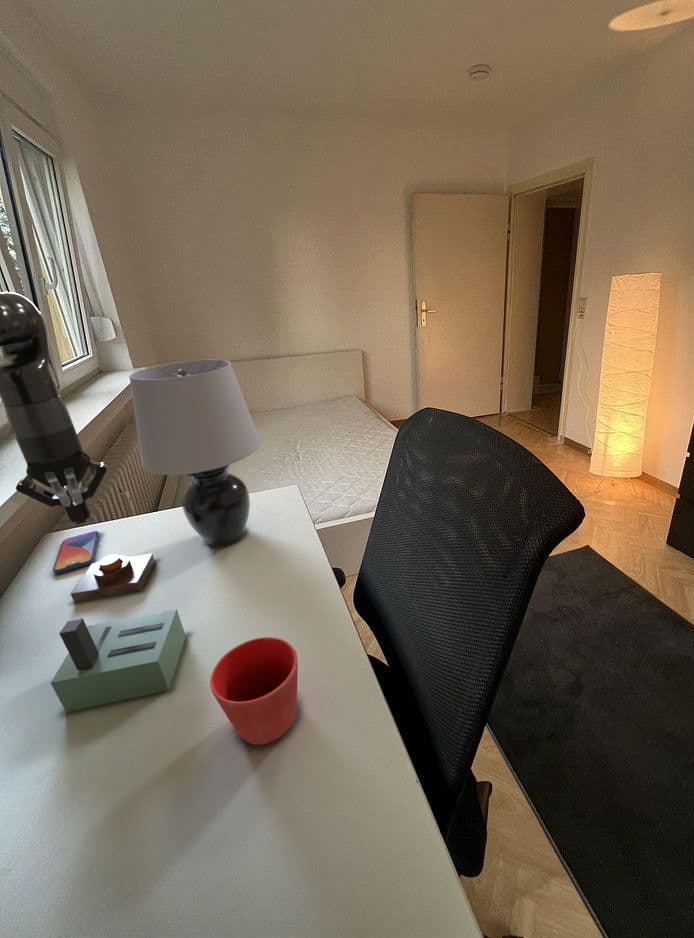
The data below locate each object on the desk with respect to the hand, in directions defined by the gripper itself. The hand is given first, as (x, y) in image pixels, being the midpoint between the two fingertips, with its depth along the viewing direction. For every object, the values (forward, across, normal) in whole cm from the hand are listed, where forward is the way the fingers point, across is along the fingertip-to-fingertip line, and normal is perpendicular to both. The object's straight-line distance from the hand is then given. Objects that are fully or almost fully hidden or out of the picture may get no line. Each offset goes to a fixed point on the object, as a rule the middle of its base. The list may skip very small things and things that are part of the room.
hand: (82, 521), depth 77 cm
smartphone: (+19, +8, -26) cm, 34 cm away
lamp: (+19, -22, -13) cm, 32 cm away
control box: (+19, 0, -9) cm, 21 cm away
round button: (+15, 0, -9) cm, 18 cm away
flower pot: (+19, -19, +39) cm, 48 cm away
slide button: (+13, +2, +21) cm, 25 cm away
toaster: (+19, -2, +19) cm, 27 cm away
